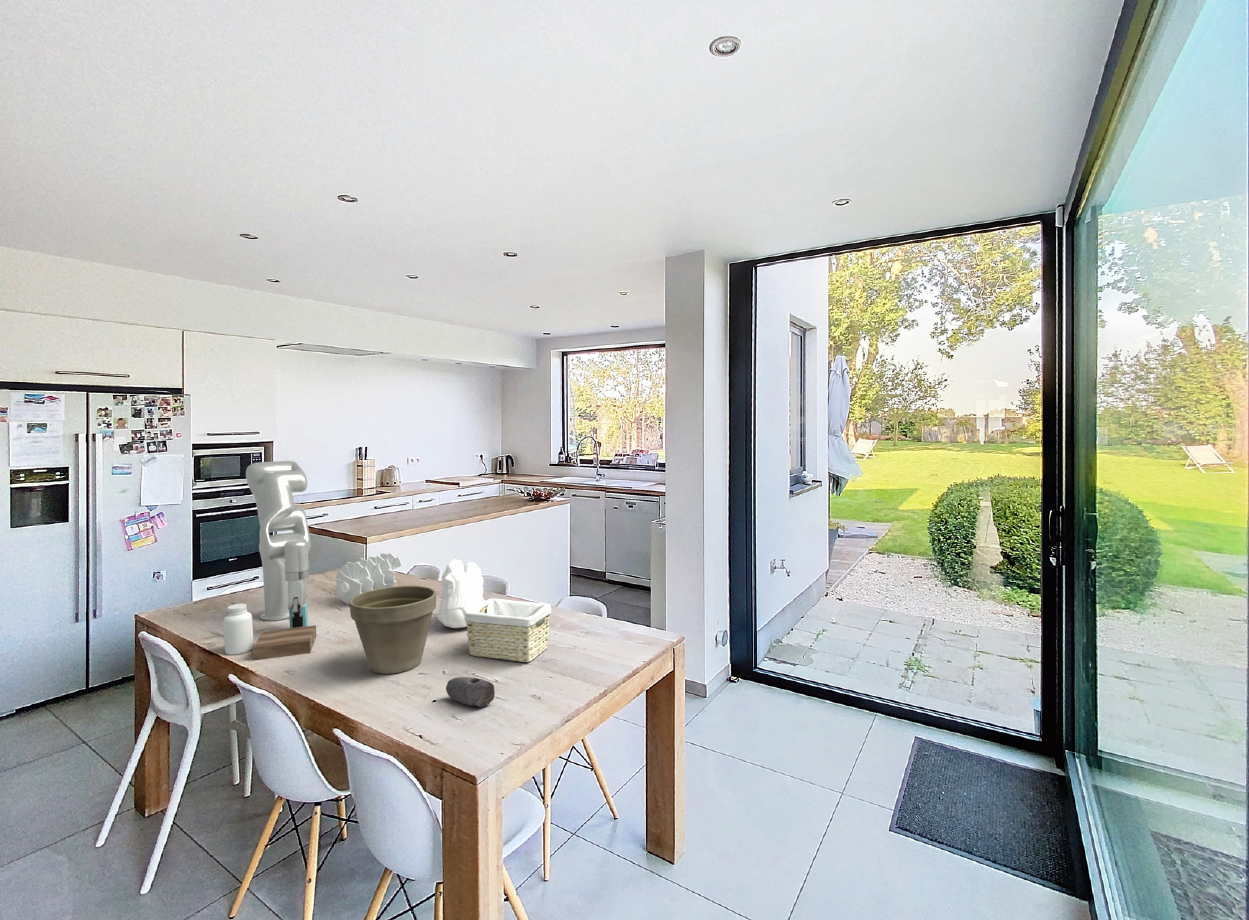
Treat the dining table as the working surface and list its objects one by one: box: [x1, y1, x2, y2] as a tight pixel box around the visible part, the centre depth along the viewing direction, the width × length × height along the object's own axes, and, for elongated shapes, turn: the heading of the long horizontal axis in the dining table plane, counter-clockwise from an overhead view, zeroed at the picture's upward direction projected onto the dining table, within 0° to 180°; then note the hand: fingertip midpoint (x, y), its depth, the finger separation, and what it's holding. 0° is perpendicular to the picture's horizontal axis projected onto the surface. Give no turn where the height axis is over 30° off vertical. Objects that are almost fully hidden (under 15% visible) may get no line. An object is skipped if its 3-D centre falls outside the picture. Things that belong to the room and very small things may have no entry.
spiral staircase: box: [334, 551, 403, 605], centre depth 253 cm, size 18×18×25 cm
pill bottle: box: [222, 603, 254, 656], centre depth 196 cm, size 8×8×15 cm
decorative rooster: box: [437, 559, 485, 629], centre depth 222 cm, size 25×16×25 cm, turn 154°
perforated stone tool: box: [445, 676, 496, 708], centre depth 159 cm, size 15×5×7 cm, turn 62°
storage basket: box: [465, 598, 552, 663], centre depth 194 cm, size 24×16×15 cm
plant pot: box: [349, 585, 437, 675], centre depth 184 cm, size 25×25×22 cm
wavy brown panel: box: [252, 625, 317, 661], centre depth 199 cm, size 16×16×4 cm
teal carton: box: [289, 601, 309, 628], centre depth 214 cm, size 5×5×9 cm
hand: (299, 624), depth 214 cm, fingers closed on teal carton, 5 cm apart
